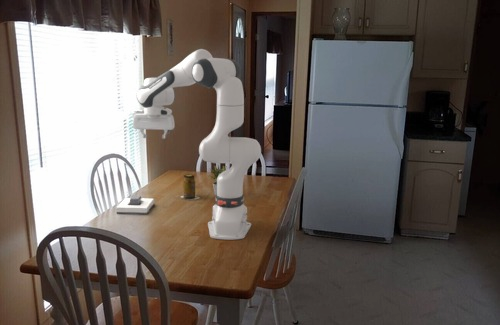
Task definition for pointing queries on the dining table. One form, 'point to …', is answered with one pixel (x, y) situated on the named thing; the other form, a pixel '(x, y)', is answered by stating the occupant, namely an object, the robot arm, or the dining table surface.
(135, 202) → the plug
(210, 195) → the dining table surface
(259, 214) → the dining table surface
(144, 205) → the socket
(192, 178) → the condiment
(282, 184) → the dining table surface
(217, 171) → the house plant
